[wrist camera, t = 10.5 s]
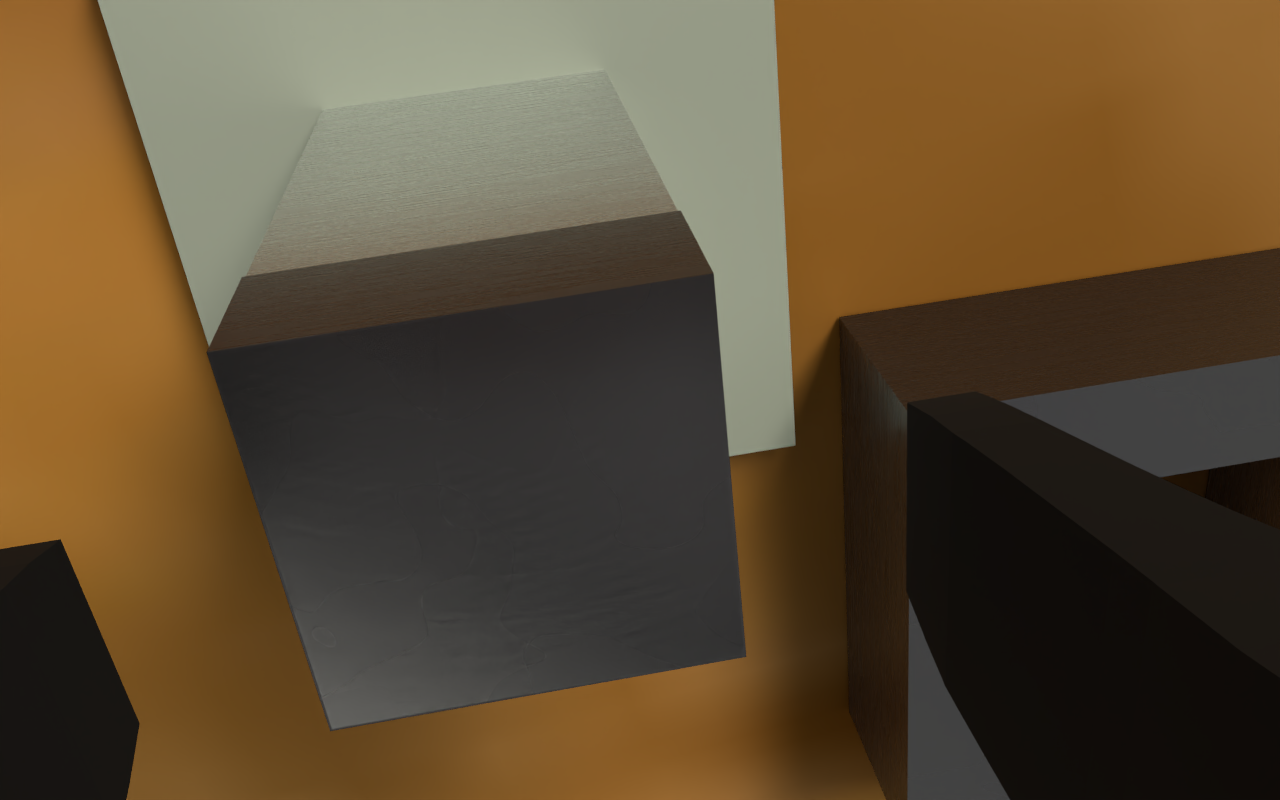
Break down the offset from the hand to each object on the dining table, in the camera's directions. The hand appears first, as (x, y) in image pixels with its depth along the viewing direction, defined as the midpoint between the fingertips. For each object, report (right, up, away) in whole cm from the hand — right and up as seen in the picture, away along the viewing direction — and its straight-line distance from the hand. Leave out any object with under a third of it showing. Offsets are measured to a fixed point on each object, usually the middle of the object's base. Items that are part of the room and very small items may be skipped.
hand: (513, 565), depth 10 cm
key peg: (-1, +4, +7) cm, 8 cm away
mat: (-1, +4, +8) cm, 9 cm away
